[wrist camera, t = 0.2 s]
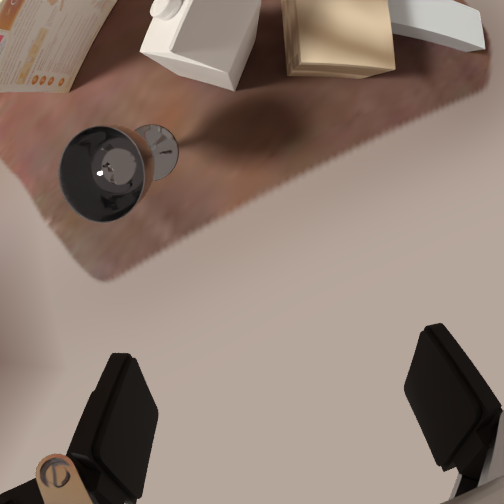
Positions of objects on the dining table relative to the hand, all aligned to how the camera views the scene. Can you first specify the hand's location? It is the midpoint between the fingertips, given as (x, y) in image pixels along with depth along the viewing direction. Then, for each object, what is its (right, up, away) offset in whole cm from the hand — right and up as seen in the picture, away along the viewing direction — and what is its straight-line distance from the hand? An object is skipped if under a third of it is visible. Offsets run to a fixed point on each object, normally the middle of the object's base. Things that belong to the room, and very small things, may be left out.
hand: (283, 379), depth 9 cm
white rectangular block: (+21, +35, +19) cm, 45 cm away
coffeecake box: (-24, +32, +19) cm, 45 cm away
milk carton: (-5, +27, +22) cm, 35 cm away
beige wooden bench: (+7, +34, +19) cm, 40 cm away
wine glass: (-13, +16, +27) cm, 34 cm away
